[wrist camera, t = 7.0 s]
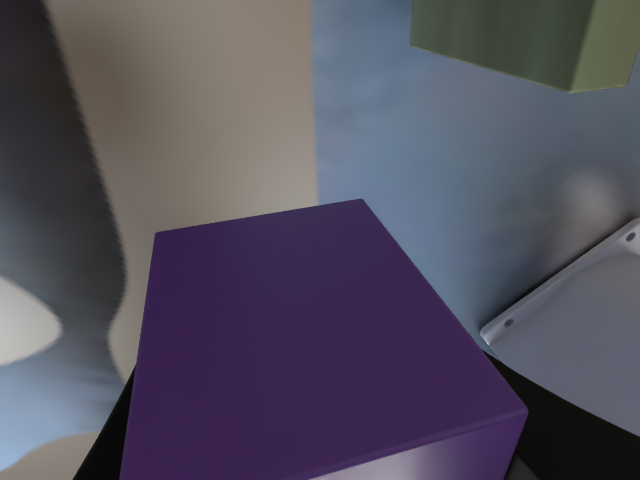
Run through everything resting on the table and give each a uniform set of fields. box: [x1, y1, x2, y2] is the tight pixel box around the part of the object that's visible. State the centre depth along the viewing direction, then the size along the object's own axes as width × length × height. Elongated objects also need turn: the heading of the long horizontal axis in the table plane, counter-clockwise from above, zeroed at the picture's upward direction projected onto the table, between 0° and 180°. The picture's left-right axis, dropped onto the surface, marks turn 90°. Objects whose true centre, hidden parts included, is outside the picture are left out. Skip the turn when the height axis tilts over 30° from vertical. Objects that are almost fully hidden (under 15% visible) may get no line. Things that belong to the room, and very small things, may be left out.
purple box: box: [119, 199, 528, 480], centre depth 8 cm, size 4×6×6 cm
